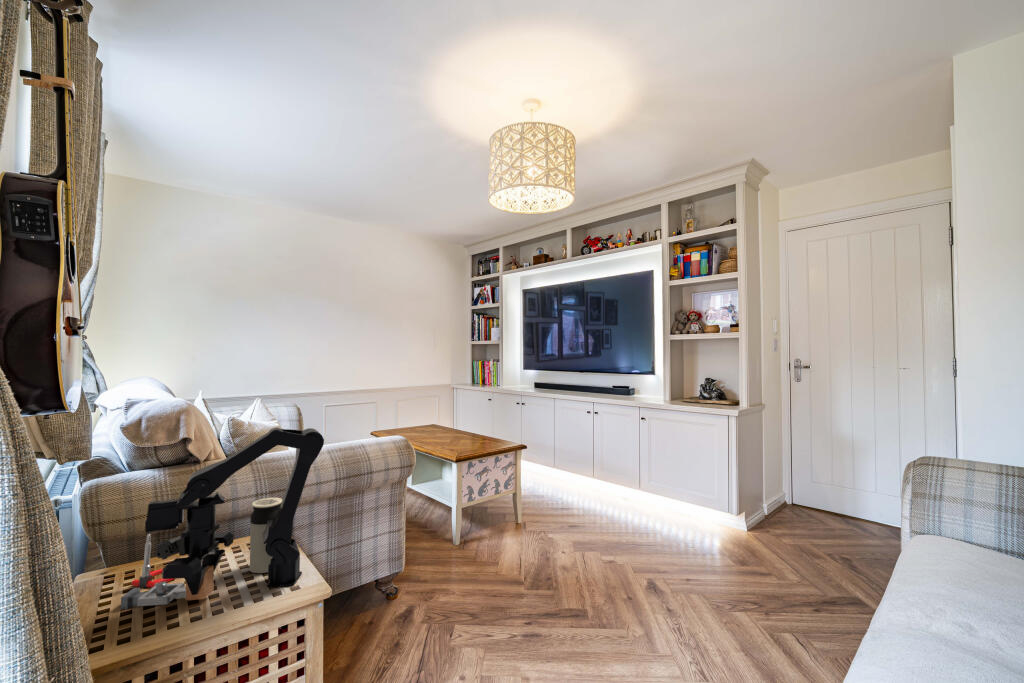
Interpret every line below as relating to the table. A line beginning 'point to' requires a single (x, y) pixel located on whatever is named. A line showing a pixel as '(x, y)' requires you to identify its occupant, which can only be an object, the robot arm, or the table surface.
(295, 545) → the robot arm
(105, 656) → the table surface
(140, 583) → the tow hook
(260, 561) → the travel mug
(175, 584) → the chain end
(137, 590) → the hook
